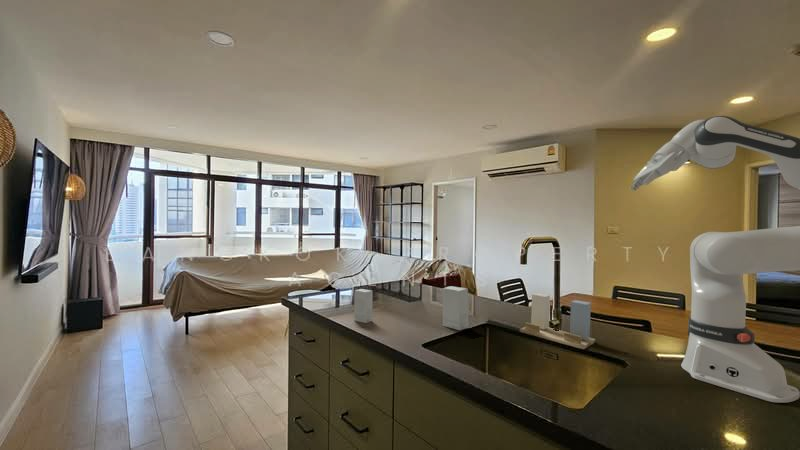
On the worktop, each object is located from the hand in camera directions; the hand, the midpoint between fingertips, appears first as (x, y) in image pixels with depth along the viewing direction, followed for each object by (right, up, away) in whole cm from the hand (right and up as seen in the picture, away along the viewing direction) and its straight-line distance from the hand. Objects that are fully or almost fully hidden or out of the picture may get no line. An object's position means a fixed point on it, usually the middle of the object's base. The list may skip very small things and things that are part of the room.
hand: (638, 186), depth 121 cm
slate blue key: (-21, -52, -2) cm, 56 cm away
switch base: (-28, -53, +2) cm, 60 cm away
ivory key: (-31, -51, +9) cm, 61 cm away
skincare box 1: (-98, -51, +15) cm, 111 cm away
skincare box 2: (-62, -52, +10) cm, 82 cm away
